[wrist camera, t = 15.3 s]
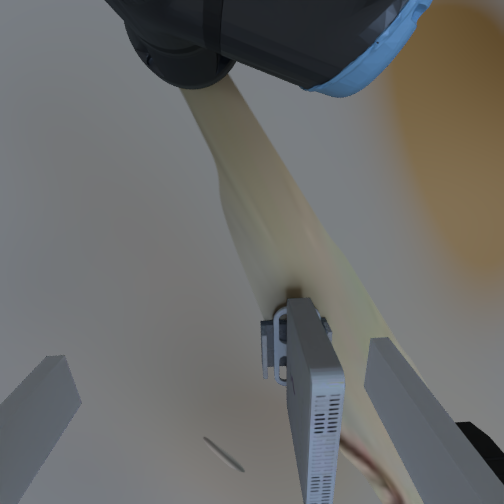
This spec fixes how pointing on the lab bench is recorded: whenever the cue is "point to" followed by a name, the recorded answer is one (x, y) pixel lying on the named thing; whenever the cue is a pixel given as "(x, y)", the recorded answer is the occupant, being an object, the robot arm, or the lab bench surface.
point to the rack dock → (268, 339)
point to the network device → (311, 397)
